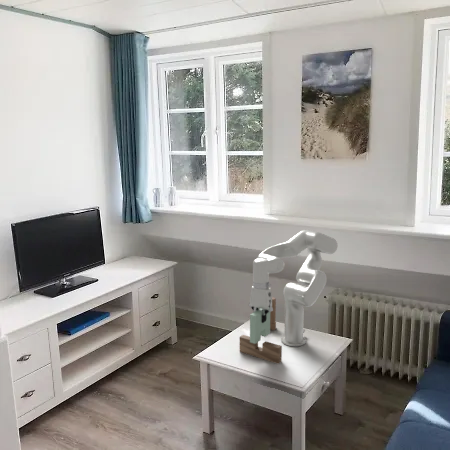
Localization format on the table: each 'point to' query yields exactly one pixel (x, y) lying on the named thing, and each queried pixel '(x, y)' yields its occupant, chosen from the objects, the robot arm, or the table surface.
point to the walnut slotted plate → (261, 350)
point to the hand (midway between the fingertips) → (260, 320)
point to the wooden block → (273, 315)
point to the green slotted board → (258, 326)
